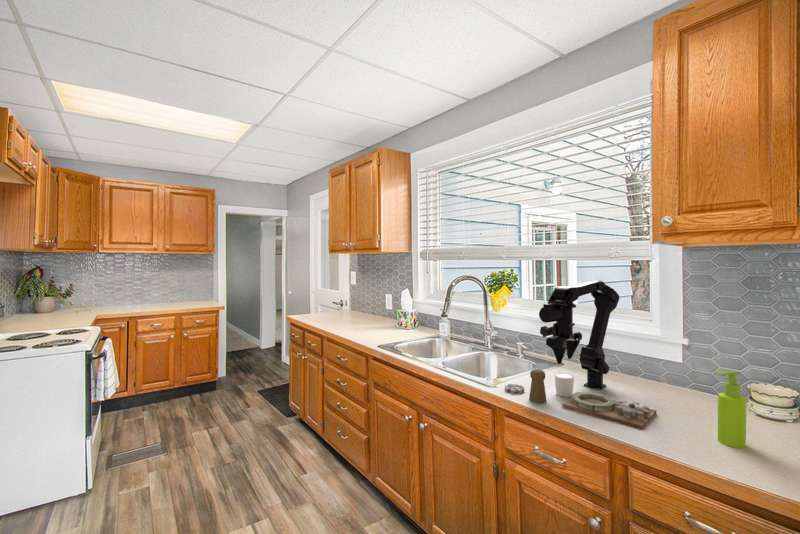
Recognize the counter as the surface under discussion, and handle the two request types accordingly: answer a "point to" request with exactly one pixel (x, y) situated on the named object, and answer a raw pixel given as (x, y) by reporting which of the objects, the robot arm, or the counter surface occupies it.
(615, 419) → the gear board
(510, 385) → the gear
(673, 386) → the counter surface
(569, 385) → the white cylinder
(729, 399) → the soap dispenser
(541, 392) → the brown pepper mill
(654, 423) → the counter surface
